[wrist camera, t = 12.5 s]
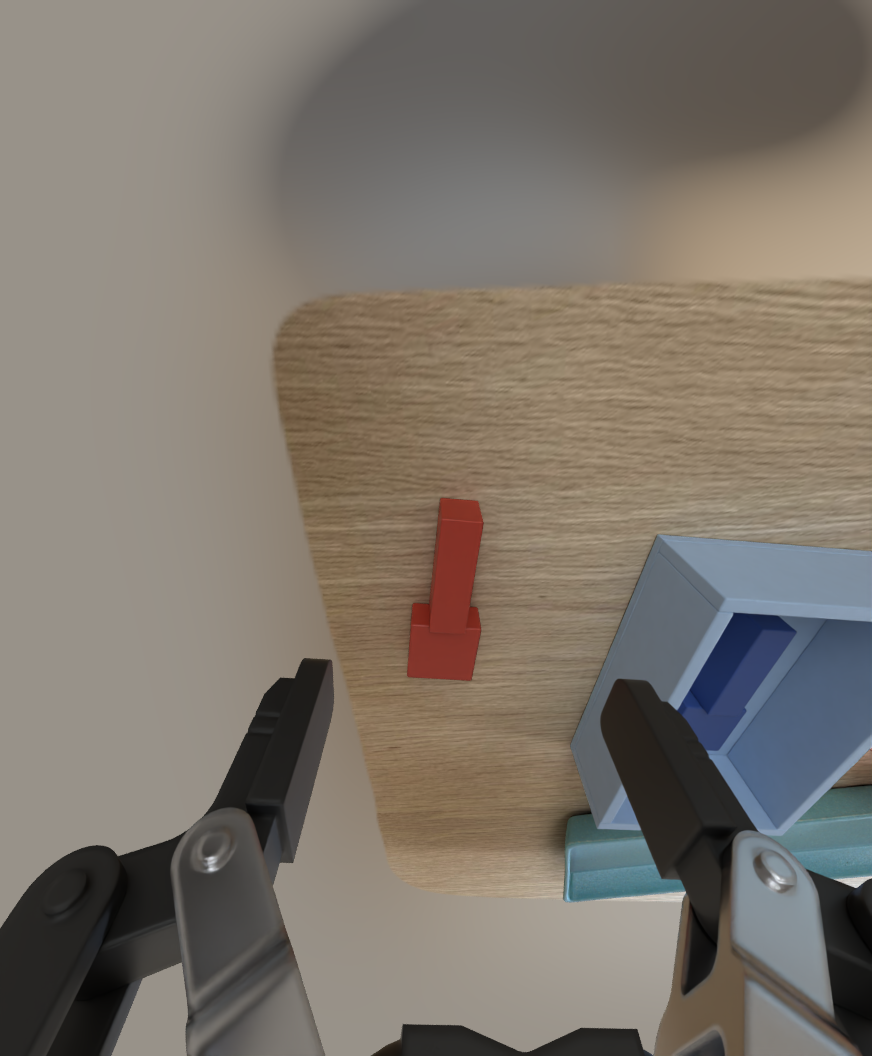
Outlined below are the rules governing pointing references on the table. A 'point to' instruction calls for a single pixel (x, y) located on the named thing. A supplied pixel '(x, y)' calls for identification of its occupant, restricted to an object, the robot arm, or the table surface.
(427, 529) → the table surface
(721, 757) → the blue bin
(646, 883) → the rectangular tray
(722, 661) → the blue stepped block
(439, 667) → the red mallet block
